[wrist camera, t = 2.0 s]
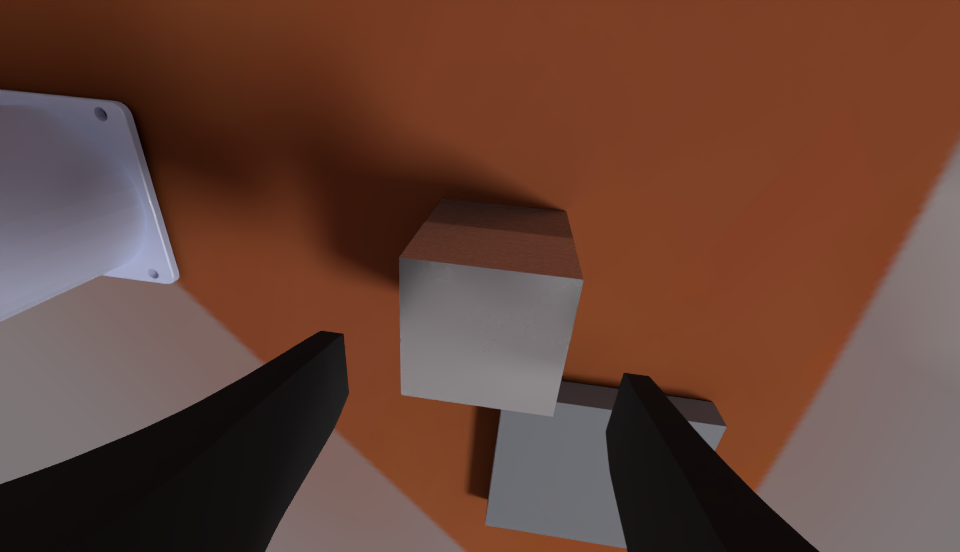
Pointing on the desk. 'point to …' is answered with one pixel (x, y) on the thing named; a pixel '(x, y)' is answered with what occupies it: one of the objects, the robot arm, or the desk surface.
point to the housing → (488, 305)
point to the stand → (569, 465)
